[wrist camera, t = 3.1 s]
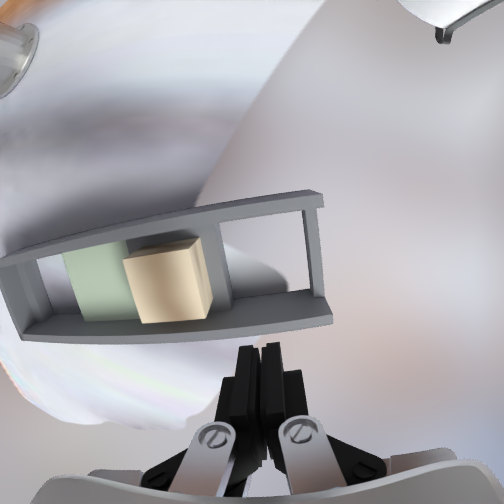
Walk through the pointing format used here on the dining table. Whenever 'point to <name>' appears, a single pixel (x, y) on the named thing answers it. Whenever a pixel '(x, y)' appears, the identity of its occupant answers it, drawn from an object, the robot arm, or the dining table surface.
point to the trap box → (120, 295)
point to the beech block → (169, 281)
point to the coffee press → (447, 13)
